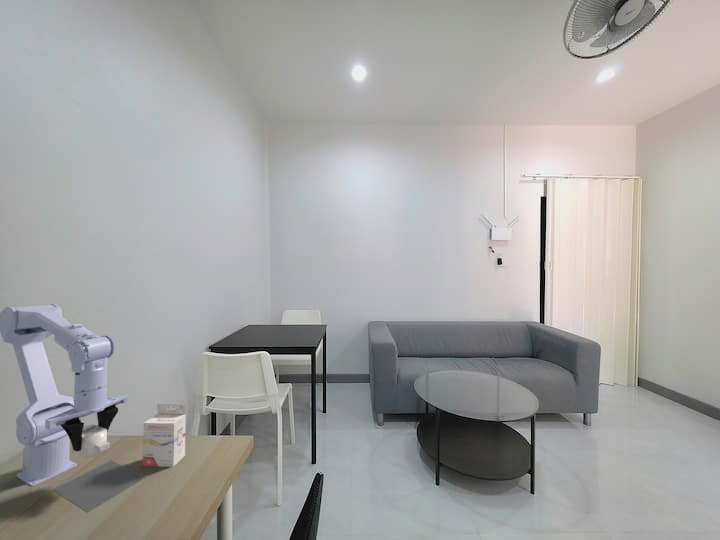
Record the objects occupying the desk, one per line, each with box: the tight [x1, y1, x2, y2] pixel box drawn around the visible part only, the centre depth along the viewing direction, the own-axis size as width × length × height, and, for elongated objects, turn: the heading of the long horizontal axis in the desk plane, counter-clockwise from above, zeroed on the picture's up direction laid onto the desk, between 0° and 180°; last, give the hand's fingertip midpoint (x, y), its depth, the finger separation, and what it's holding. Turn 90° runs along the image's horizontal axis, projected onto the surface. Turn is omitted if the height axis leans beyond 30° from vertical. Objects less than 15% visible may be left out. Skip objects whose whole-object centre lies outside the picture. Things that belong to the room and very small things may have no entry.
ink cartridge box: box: [142, 402, 187, 468], centre depth 73 cm, size 9×5×15 cm, turn 88°
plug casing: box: [72, 424, 111, 459], centre depth 65 cm, size 11×4×4 cm, turn 67°
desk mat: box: [52, 460, 147, 513], centre depth 65 cm, size 16×11×1 cm
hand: (89, 444), depth 66 cm, fingers closed on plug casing, 4 cm apart
